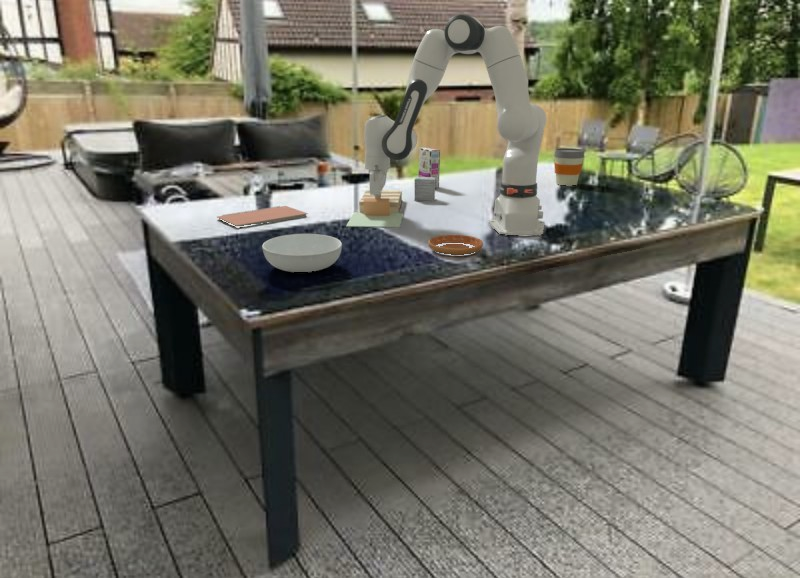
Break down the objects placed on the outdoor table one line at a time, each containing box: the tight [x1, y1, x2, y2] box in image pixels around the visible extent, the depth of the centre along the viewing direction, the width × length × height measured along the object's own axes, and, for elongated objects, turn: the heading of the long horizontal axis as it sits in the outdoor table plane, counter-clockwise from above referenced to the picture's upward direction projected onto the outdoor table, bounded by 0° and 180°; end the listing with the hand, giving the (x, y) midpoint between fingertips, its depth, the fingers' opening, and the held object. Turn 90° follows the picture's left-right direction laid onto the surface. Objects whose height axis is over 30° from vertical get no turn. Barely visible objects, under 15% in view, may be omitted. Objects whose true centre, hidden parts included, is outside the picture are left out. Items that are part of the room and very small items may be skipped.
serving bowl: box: [261, 233, 343, 273], centre depth 168 cm, size 21×21×7 cm
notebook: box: [216, 205, 308, 226], centre depth 222 cm, size 27×17×2 cm, turn 129°
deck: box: [358, 189, 403, 213], centre depth 238 cm, size 22×14×4 cm, turn 176°
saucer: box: [428, 234, 484, 255], centre depth 184 cm, size 16×16×3 cm
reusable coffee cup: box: [553, 147, 585, 187], centre depth 277 cm, size 13×13×15 cm
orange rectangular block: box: [363, 198, 390, 215], centre depth 223 cm, size 6×9×2 cm
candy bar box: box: [418, 147, 441, 189], centre depth 272 cm, size 11×5×16 cm, turn 25°
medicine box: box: [414, 176, 436, 202], centre depth 248 cm, size 8×4×9 cm, turn 84°
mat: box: [345, 211, 404, 228], centre depth 219 cm, size 20×18×1 cm
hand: (378, 202), depth 225 cm, fingers closed
